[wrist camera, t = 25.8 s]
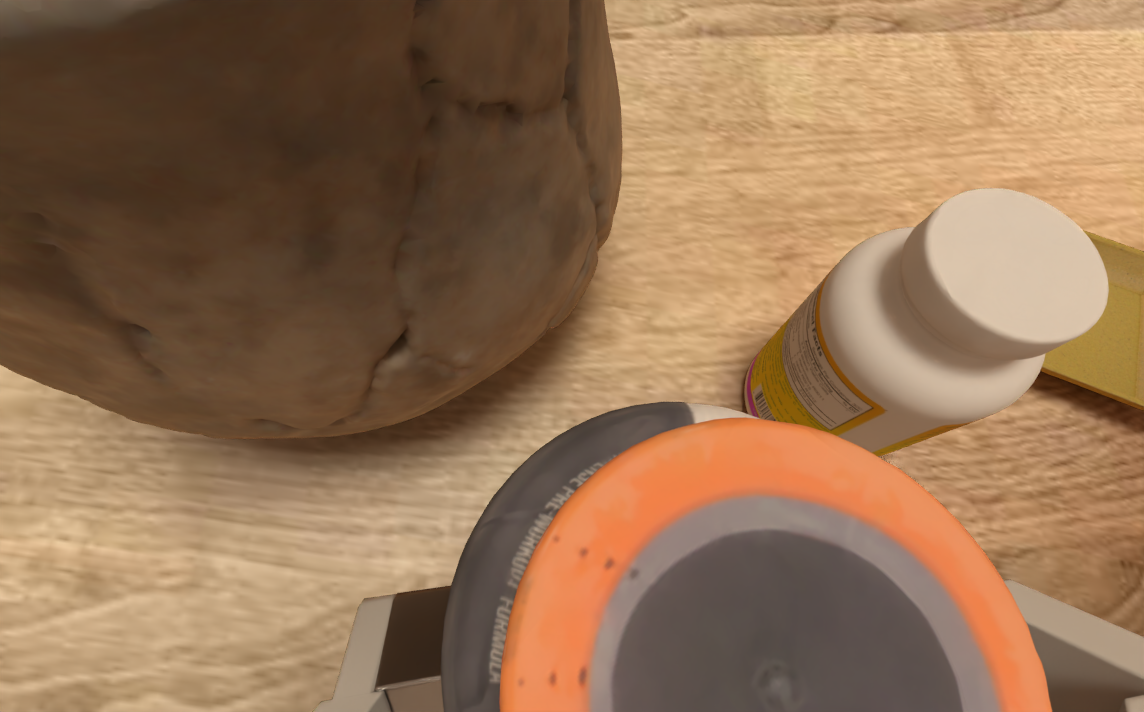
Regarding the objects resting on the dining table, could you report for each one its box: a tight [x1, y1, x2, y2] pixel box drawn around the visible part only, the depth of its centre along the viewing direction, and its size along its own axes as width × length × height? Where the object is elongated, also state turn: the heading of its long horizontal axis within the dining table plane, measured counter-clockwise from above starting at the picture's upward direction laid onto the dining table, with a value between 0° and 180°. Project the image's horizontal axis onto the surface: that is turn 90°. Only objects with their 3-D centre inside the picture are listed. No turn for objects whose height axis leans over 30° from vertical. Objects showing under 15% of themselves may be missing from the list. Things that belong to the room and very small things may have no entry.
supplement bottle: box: [745, 188, 1109, 457], centre depth 20 cm, size 7×7×13 cm
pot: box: [0, 0, 622, 439], centre depth 19 cm, size 25×24×21 cm
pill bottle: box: [441, 402, 1052, 712], centre depth 9 cm, size 6×6×11 cm
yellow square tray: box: [1040, 230, 1144, 411], centre depth 27 cm, size 9×9×2 cm
